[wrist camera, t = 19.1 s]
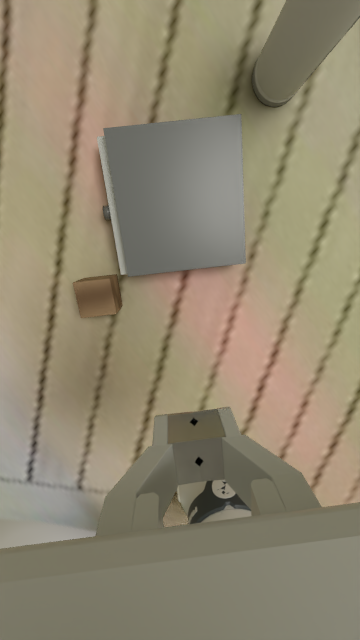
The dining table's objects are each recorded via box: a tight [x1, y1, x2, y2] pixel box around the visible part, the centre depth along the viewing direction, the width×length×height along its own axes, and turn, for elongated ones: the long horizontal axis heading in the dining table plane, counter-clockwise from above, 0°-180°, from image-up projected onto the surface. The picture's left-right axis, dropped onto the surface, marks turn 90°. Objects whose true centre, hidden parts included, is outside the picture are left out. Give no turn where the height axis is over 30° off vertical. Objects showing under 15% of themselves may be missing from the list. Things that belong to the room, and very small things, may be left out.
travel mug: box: [252, 0, 360, 107], centre depth 23 cm, size 6×7×20 cm
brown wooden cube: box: [73, 274, 122, 318], centre depth 37 cm, size 5×5×5 cm
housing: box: [103, 114, 246, 277], centre depth 34 cm, size 17×16×5 cm
